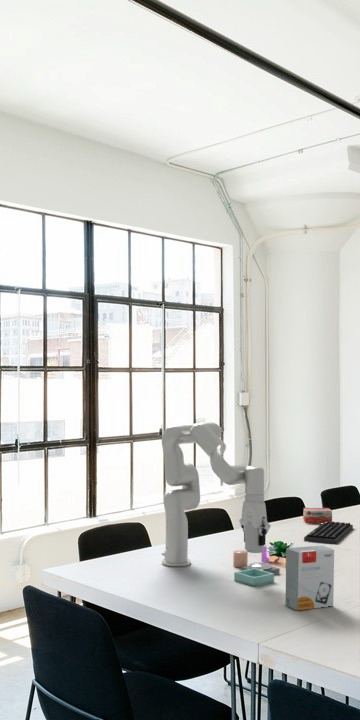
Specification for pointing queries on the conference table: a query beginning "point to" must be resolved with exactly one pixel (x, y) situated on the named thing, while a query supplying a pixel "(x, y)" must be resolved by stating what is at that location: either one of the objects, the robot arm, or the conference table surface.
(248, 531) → the can
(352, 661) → the conference table surface
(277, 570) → the base
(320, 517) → the medicine box
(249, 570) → the trough
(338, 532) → the computer keyboard
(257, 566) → the checker pad
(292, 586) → the hard drive box
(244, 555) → the peach rounded knob
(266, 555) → the bracket
